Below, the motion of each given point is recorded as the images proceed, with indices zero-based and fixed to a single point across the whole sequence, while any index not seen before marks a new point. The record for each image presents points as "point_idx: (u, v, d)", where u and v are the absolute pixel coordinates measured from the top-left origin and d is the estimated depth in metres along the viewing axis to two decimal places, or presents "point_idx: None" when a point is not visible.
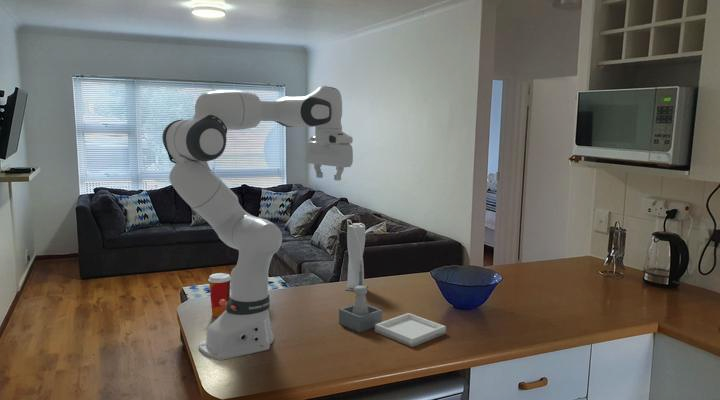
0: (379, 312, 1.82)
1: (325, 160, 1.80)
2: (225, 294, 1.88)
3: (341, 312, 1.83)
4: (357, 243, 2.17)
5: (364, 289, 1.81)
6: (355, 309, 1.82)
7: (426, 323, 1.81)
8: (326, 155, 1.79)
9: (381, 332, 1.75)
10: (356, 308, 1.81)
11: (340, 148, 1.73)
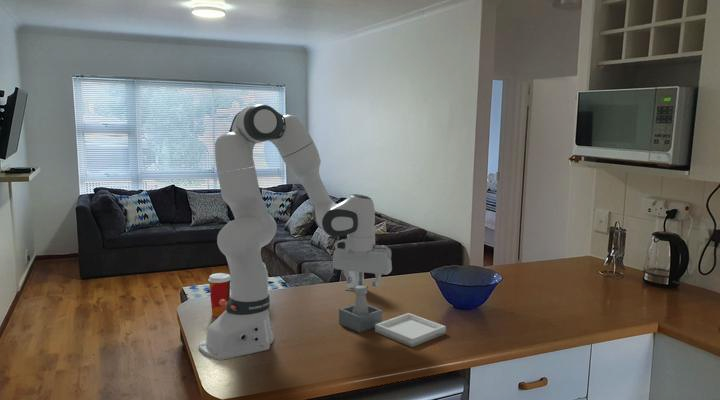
0: (379, 312, 1.82)
1: None
2: (225, 294, 1.88)
3: (341, 312, 1.83)
4: None
5: (364, 289, 1.81)
6: (355, 309, 1.82)
7: (426, 323, 1.81)
8: None
9: (381, 332, 1.75)
10: (356, 308, 1.81)
11: None
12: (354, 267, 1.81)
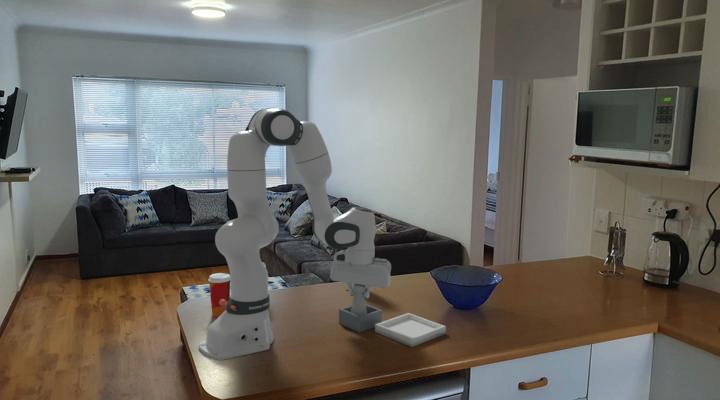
0: (379, 312, 1.82)
1: None
2: (225, 294, 1.88)
3: (341, 312, 1.83)
4: None
5: (363, 287, 1.81)
6: (353, 306, 1.82)
7: (426, 323, 1.81)
8: None
9: (381, 332, 1.75)
10: (354, 306, 1.81)
11: None
12: (352, 279, 1.81)
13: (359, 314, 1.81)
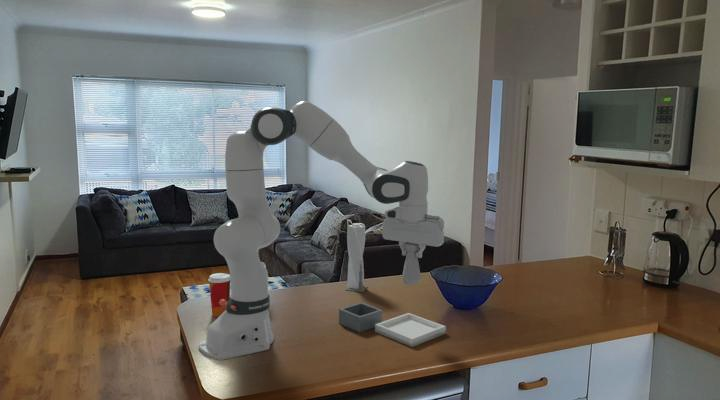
0: (379, 312, 1.82)
1: None
2: (226, 294, 1.88)
3: (341, 312, 1.83)
4: (357, 243, 2.17)
5: (415, 246, 1.71)
6: (405, 266, 1.73)
7: (426, 323, 1.81)
8: None
9: (381, 332, 1.75)
10: (406, 266, 1.73)
11: None
12: (404, 238, 1.72)
13: (411, 274, 1.72)
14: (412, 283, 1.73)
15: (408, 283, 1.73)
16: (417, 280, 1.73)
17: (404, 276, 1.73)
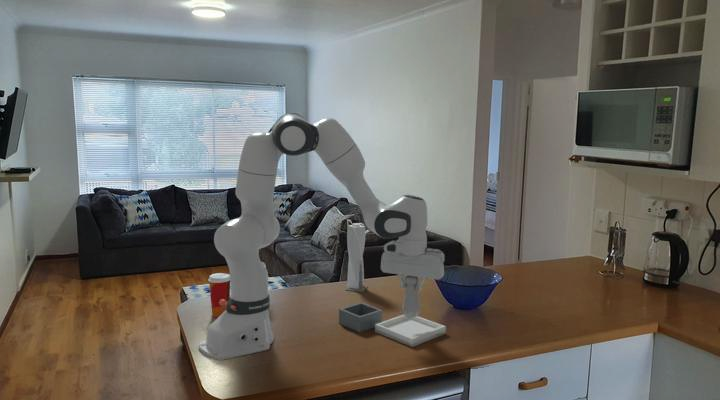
0: (379, 312, 1.82)
1: None
2: (225, 294, 1.88)
3: (341, 312, 1.83)
4: (357, 243, 2.17)
5: (415, 278, 1.73)
6: (405, 299, 1.74)
7: (426, 323, 1.81)
8: None
9: (381, 332, 1.75)
10: (406, 299, 1.74)
11: None
12: (404, 271, 1.73)
13: (411, 307, 1.73)
14: (412, 315, 1.74)
15: (408, 316, 1.74)
16: (417, 312, 1.74)
17: (404, 309, 1.74)
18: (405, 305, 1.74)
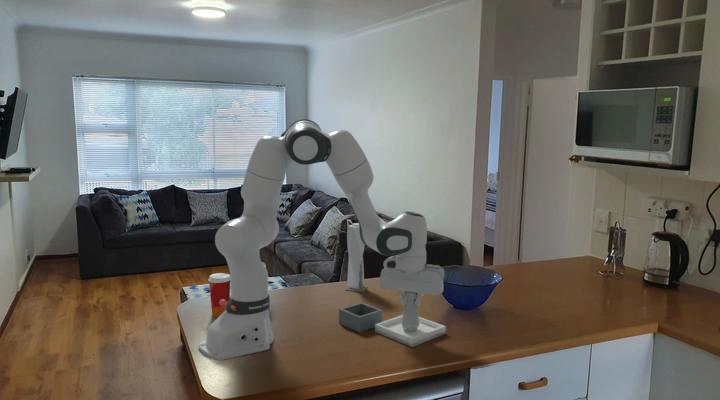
0: (379, 312, 1.82)
1: None
2: (226, 294, 1.88)
3: (341, 312, 1.83)
4: (357, 243, 2.17)
5: (414, 293, 1.74)
6: (404, 314, 1.75)
7: (426, 323, 1.81)
8: None
9: (381, 332, 1.75)
10: (406, 313, 1.75)
11: None
12: (404, 287, 1.74)
13: (411, 322, 1.74)
14: (412, 330, 1.75)
15: (408, 330, 1.75)
16: (417, 327, 1.75)
17: (404, 324, 1.75)
18: (405, 320, 1.75)
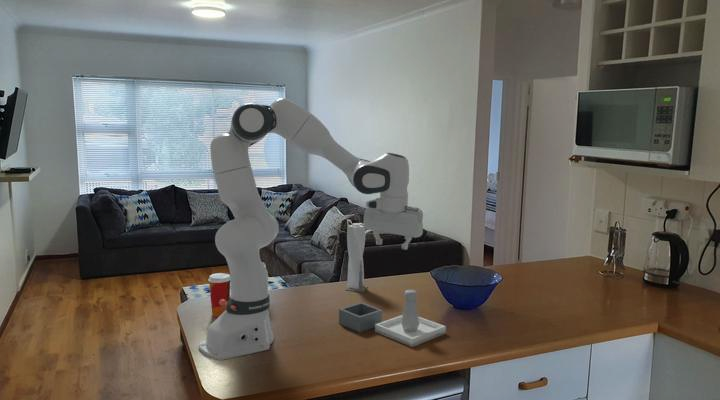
0: (379, 312, 1.82)
1: None
2: (225, 294, 1.88)
3: (341, 312, 1.83)
4: (357, 243, 2.17)
5: (414, 293, 1.74)
6: (404, 314, 1.75)
7: (426, 323, 1.81)
8: None
9: (381, 332, 1.75)
10: (406, 313, 1.75)
11: None
12: (384, 228, 1.75)
13: (411, 322, 1.74)
14: (412, 330, 1.75)
15: (408, 330, 1.75)
16: (417, 327, 1.75)
17: (404, 324, 1.75)
18: (405, 320, 1.75)
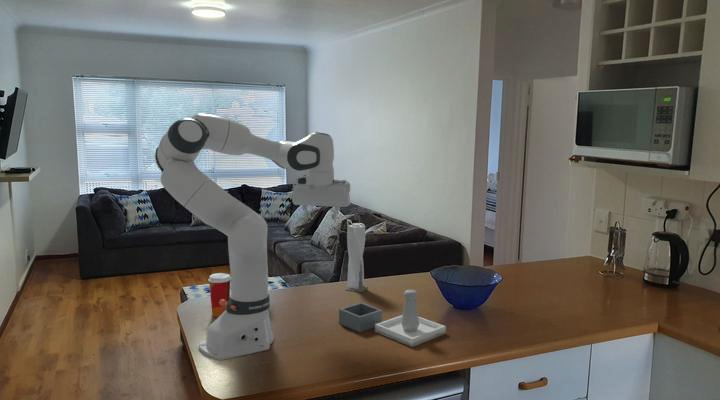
0: (379, 312, 1.82)
1: None
2: (226, 294, 1.88)
3: (341, 312, 1.83)
4: (357, 243, 2.17)
5: (414, 293, 1.74)
6: (404, 314, 1.75)
7: (426, 323, 1.81)
8: None
9: (381, 332, 1.75)
10: (406, 313, 1.75)
11: None
12: (314, 201, 1.91)
13: (411, 322, 1.74)
14: (412, 330, 1.75)
15: (408, 330, 1.75)
16: (417, 327, 1.75)
17: (404, 324, 1.75)
18: (405, 320, 1.75)
